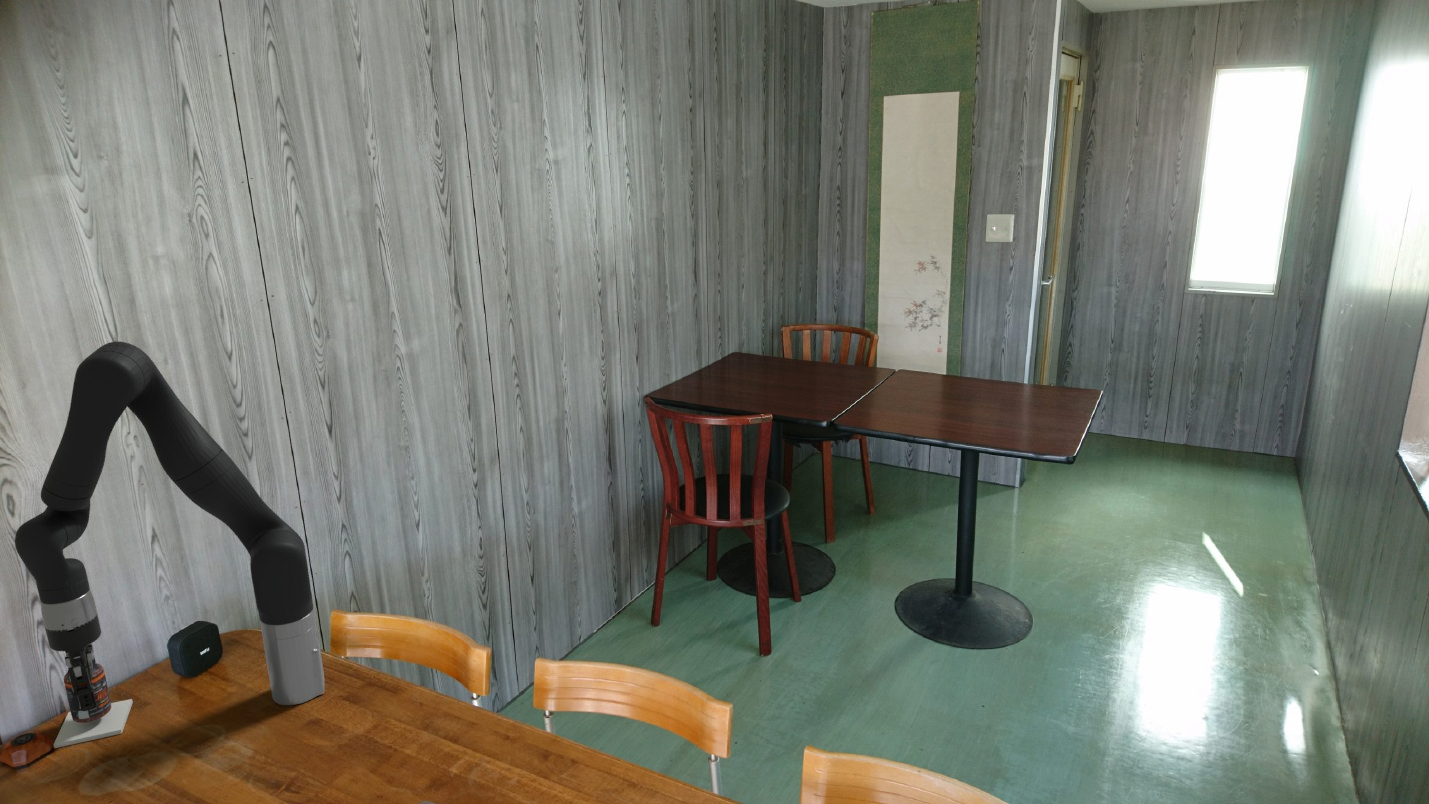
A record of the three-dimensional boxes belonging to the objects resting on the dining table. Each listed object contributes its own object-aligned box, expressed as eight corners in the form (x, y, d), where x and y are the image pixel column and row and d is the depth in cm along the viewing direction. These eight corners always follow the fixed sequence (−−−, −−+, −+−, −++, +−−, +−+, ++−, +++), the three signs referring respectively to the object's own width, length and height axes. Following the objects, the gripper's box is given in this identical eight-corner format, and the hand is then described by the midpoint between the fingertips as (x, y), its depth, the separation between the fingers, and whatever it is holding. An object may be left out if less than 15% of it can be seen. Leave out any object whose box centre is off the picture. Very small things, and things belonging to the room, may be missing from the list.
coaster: (132, 702, 162) (131, 698, 162) (121, 733, 153) (120, 729, 153) (69, 715, 158) (68, 712, 158) (54, 748, 149) (53, 744, 149)
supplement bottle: (91, 726, 152) (78, 671, 149) (64, 722, 153) (50, 667, 150) (120, 706, 157) (108, 652, 154) (93, 702, 158) (81, 649, 155)
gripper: (47, 606, 153) (66, 687, 158) (41, 642, 142) (62, 728, 147) (97, 595, 157) (115, 673, 162) (95, 629, 146) (114, 713, 151)
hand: (89, 699), depth 154 cm, fingers closed on supplement bottle, 6 cm apart
